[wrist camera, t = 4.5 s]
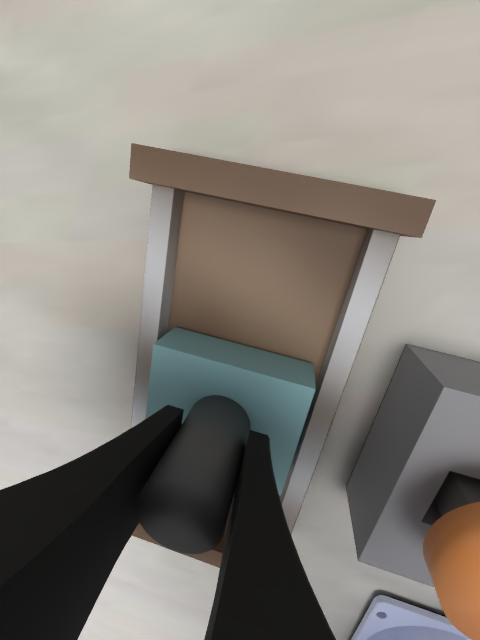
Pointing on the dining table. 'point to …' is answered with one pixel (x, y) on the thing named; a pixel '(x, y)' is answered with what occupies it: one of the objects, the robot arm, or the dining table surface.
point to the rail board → (266, 276)
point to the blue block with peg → (216, 430)
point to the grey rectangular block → (414, 458)
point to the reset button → (457, 552)
